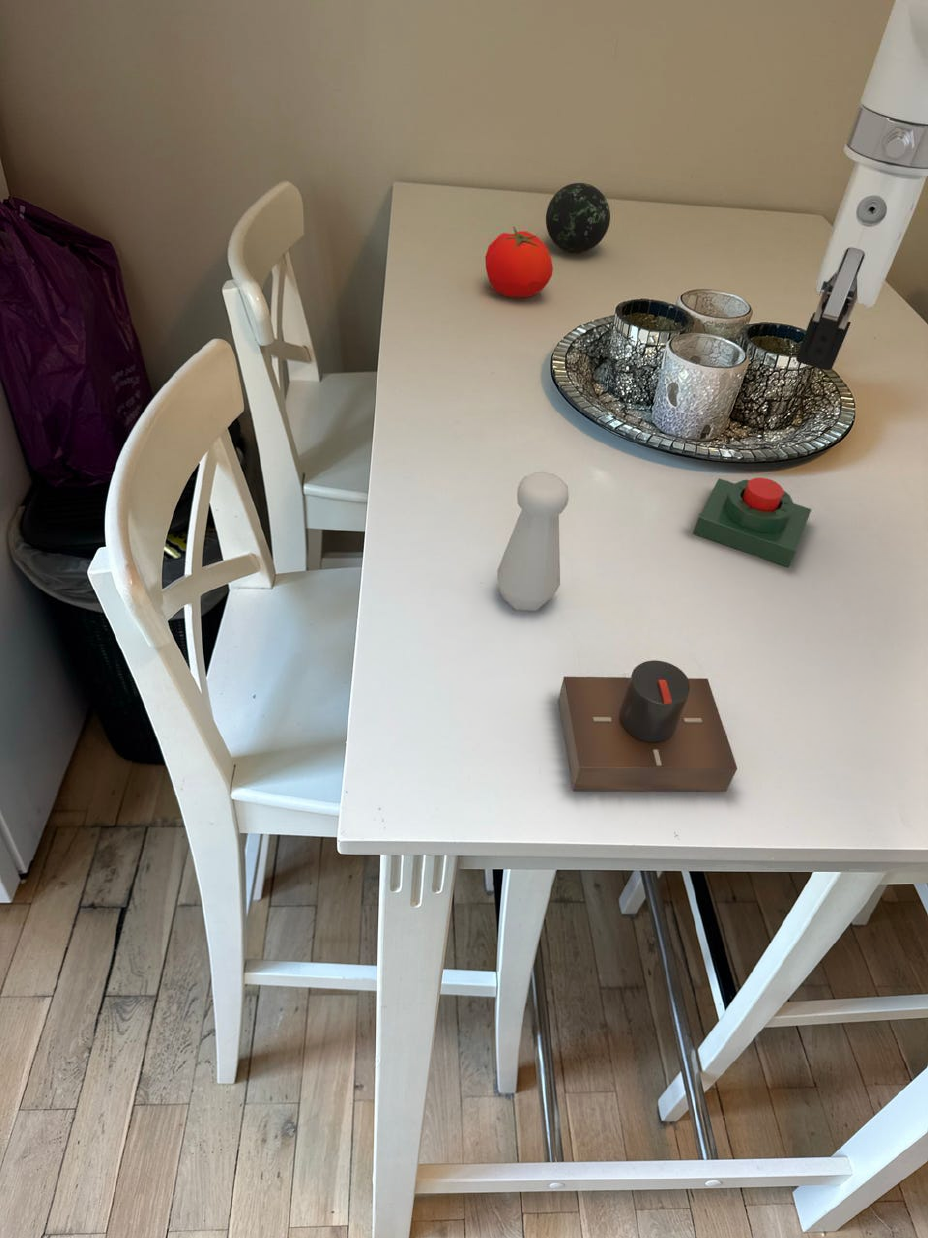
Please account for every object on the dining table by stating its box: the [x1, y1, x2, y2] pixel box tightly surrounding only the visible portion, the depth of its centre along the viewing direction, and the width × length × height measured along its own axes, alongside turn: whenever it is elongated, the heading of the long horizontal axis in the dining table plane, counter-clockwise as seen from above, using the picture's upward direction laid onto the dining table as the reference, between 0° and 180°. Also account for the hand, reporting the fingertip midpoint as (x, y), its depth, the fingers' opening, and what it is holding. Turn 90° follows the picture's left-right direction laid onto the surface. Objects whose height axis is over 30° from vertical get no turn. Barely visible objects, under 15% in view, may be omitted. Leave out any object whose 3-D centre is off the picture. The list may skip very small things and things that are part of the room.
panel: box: [557, 676, 738, 792], centre depth 69 cm, size 12×9×3 cm
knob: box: [620, 659, 691, 743], centre depth 67 cm, size 4×4×5 cm
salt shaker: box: [496, 471, 570, 612], centre depth 77 cm, size 6×6×13 cm
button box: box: [692, 478, 812, 568], centre depth 91 cm, size 10×8×4 cm
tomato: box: [484, 225, 554, 299], centre depth 126 cm, size 9×10×8 cm
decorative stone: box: [545, 182, 611, 254], centre depth 138 cm, size 10×10×10 cm
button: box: [743, 477, 785, 512], centre depth 89 cm, size 4×4×2 cm
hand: (814, 362), depth 79 cm, fingers closed
